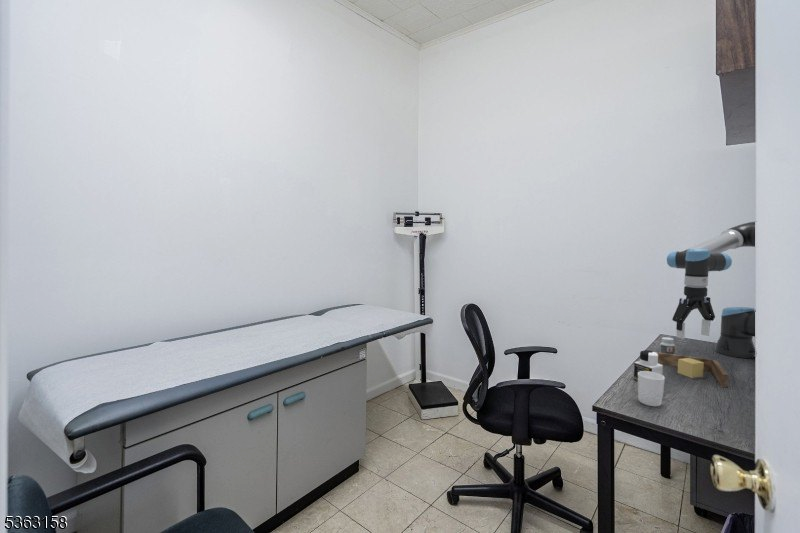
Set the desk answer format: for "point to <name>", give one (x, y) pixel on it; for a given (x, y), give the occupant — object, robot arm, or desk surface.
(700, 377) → the mat
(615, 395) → the desk surface
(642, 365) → the medicine bottle
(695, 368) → the cube
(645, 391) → the white cup
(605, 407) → the desk surface
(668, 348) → the pill bottle
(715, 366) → the angled wooden barrier
